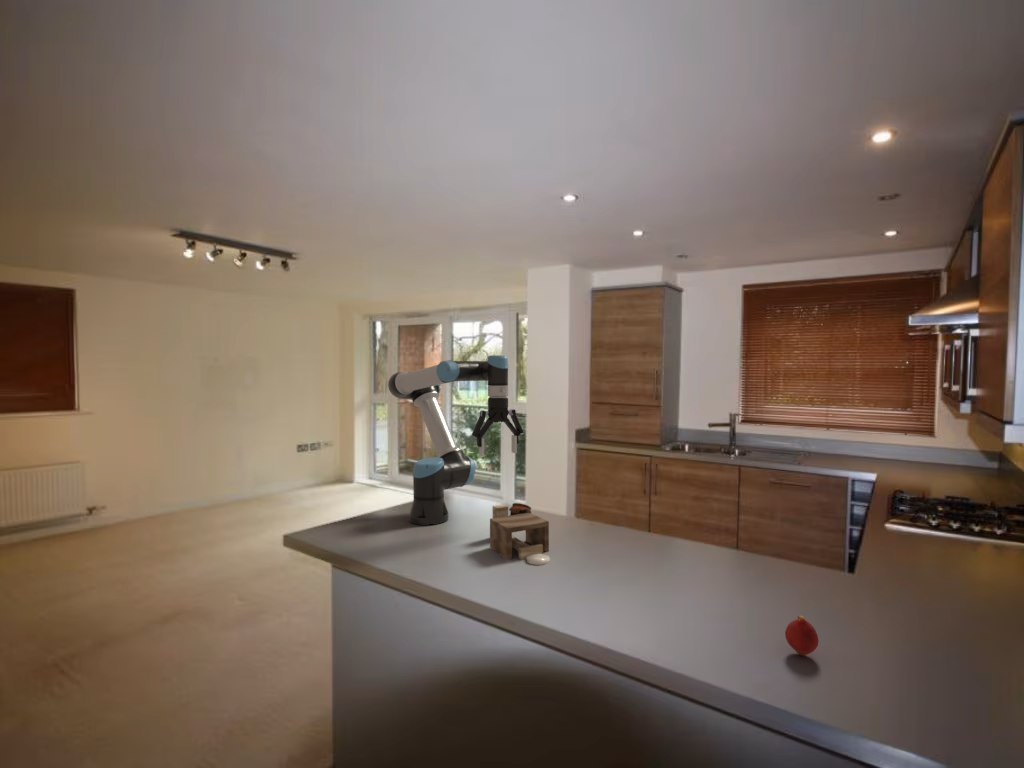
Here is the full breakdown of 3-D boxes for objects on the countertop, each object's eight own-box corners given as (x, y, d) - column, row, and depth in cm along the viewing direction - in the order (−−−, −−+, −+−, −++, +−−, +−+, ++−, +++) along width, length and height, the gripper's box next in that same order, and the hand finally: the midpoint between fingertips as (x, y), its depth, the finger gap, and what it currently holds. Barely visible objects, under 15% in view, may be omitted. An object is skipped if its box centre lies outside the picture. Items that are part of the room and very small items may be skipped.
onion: (807, 647, 108) (807, 609, 108) (824, 662, 102) (825, 622, 102) (779, 647, 108) (779, 609, 107) (795, 663, 102) (796, 623, 102)
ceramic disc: (522, 560, 159) (522, 556, 159) (541, 556, 162) (541, 552, 162) (534, 567, 153) (534, 563, 153) (554, 563, 156) (554, 559, 156)
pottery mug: (500, 523, 198) (506, 502, 202) (520, 530, 202) (525, 510, 206) (519, 522, 188) (524, 500, 192) (539, 530, 193) (543, 508, 196)
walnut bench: (490, 547, 169) (489, 518, 169) (529, 540, 176) (529, 512, 176) (507, 559, 158) (507, 528, 158) (548, 550, 166) (548, 521, 166)
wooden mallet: (487, 538, 179) (487, 506, 178) (507, 534, 182) (507, 503, 182) (520, 559, 158) (520, 523, 158) (542, 554, 162) (542, 519, 162)
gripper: (471, 398, 182) (471, 458, 183) (532, 396, 195) (532, 452, 195) (462, 397, 189) (463, 455, 190) (522, 395, 201) (522, 450, 202)
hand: (498, 454), depth 192 cm, fingers open, 13 cm apart
